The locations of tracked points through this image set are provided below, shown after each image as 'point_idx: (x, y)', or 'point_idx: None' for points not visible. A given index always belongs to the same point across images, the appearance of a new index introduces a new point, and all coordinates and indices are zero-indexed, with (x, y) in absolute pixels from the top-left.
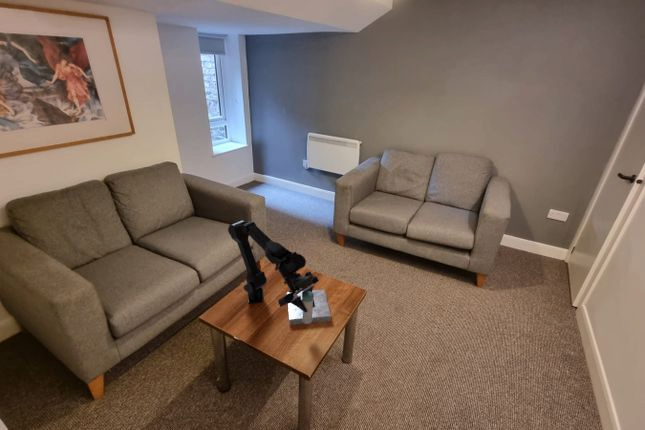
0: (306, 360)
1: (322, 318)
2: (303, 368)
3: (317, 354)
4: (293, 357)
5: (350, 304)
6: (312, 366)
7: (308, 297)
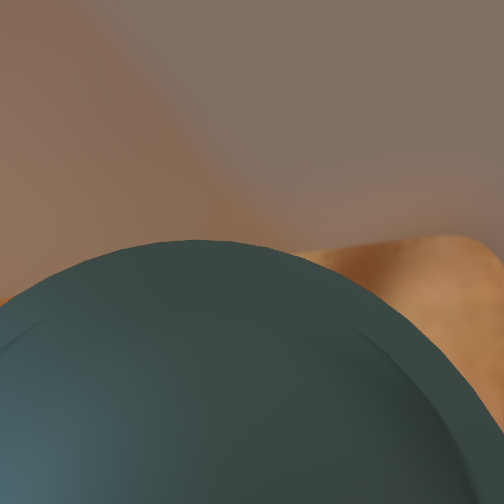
0: (442, 289)
1: None
2: (496, 268)
3: (357, 264)
4: (495, 374)
5: None
6: (443, 237)
7: (329, 392)
